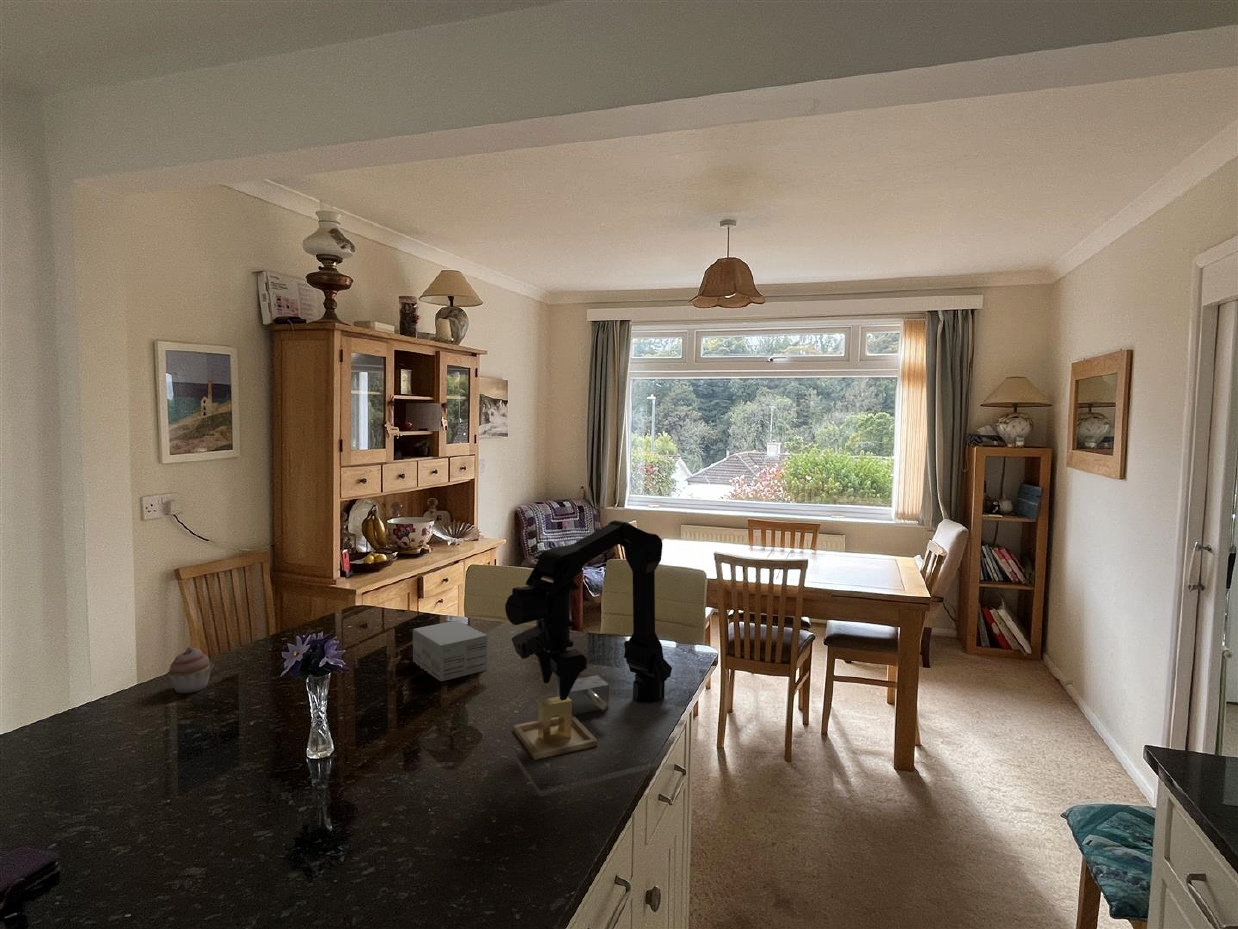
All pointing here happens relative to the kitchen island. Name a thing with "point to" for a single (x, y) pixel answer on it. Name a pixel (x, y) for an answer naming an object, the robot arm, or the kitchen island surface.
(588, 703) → the vise block
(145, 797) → the kitchen island surface
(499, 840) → the kitchen island surface
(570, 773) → the kitchen island surface
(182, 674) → the cupcake
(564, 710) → the wooden block
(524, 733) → the tray
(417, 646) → the supplement box
